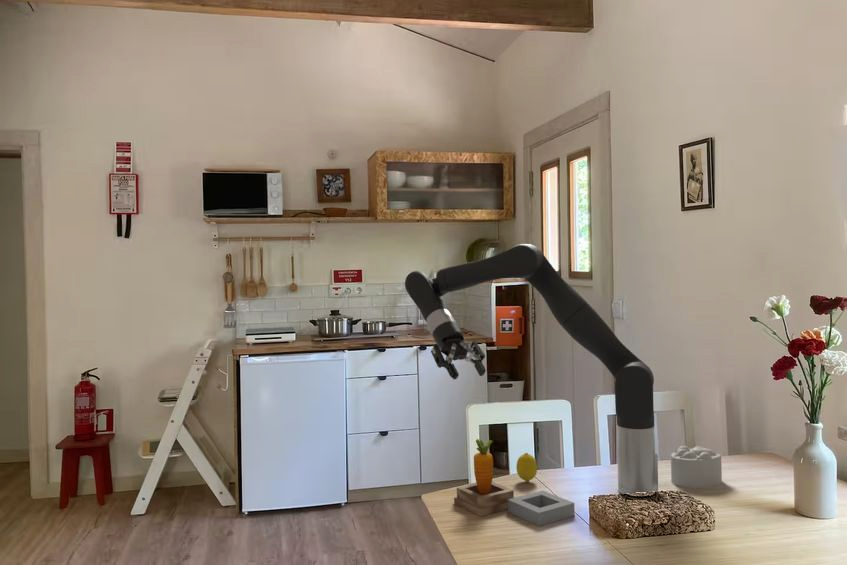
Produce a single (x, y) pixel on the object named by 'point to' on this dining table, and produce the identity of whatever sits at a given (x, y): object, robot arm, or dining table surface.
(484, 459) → the carrot
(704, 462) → the lumpy-topped squat cylinder
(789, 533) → the dining table surface
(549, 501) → the socket block
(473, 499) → the square wooden tray
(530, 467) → the lemon
